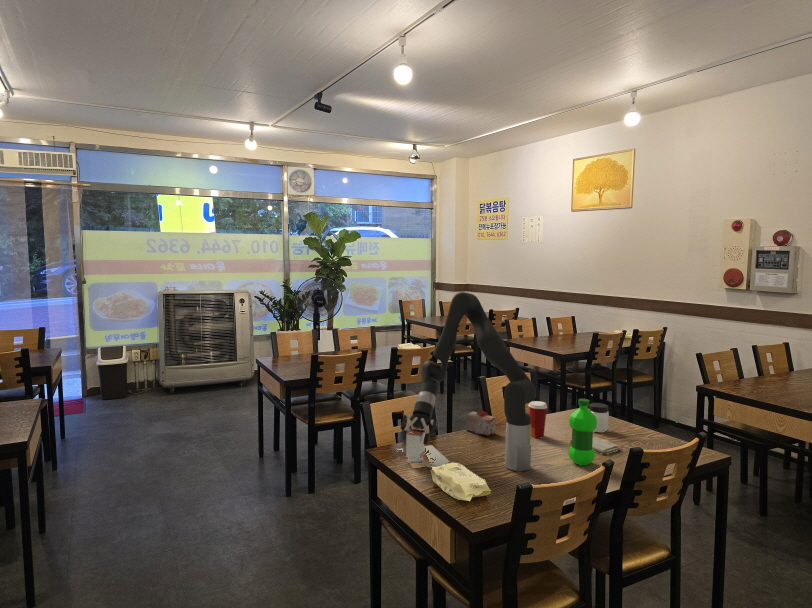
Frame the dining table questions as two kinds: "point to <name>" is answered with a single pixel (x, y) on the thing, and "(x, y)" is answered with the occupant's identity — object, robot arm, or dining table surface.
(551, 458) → the dining table surface
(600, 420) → the jar
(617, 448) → the washcloth
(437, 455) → the mat
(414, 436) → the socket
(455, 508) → the dining table surface
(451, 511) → the dining table surface
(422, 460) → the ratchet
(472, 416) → the food item
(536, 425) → the coffee cup
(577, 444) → the plastic bottle
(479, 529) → the dining table surface
